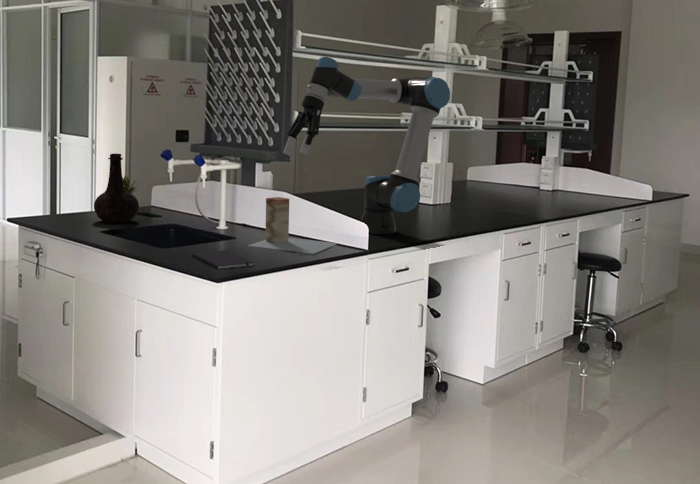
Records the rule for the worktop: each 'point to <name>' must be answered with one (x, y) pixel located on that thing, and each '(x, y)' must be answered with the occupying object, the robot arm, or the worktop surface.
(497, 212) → the worktop surface
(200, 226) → the worktop surface
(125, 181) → the house plant
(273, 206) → the birch block
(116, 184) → the glass bottle
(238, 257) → the notebook
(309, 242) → the grey mat
